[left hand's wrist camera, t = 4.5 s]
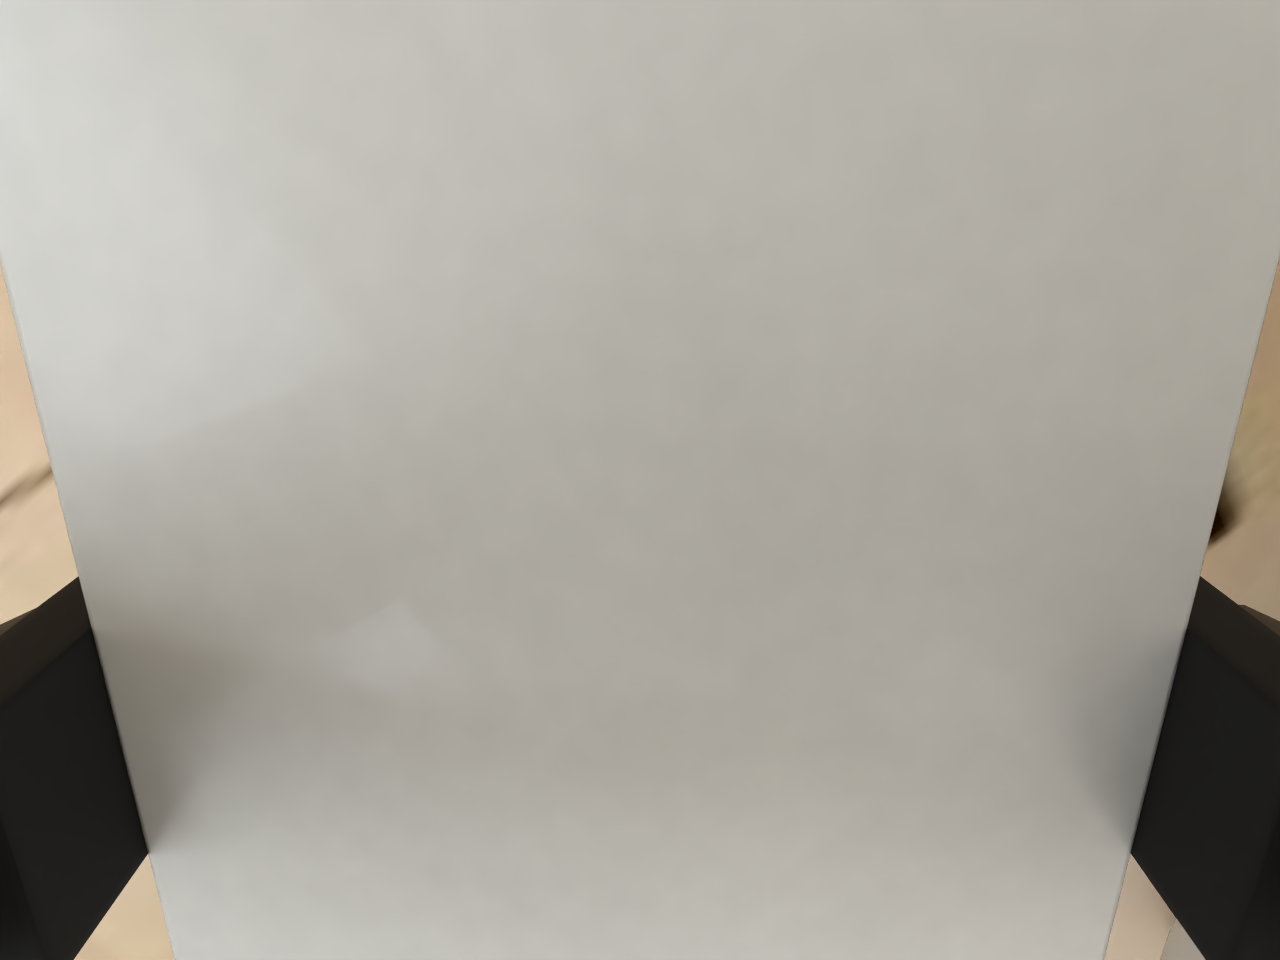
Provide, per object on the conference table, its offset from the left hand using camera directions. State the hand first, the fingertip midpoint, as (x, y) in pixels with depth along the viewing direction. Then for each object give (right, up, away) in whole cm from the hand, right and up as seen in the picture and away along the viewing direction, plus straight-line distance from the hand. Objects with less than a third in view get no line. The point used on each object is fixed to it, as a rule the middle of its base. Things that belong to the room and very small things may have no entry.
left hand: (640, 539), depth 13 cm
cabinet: (0, +7, +4) cm, 8 cm away
